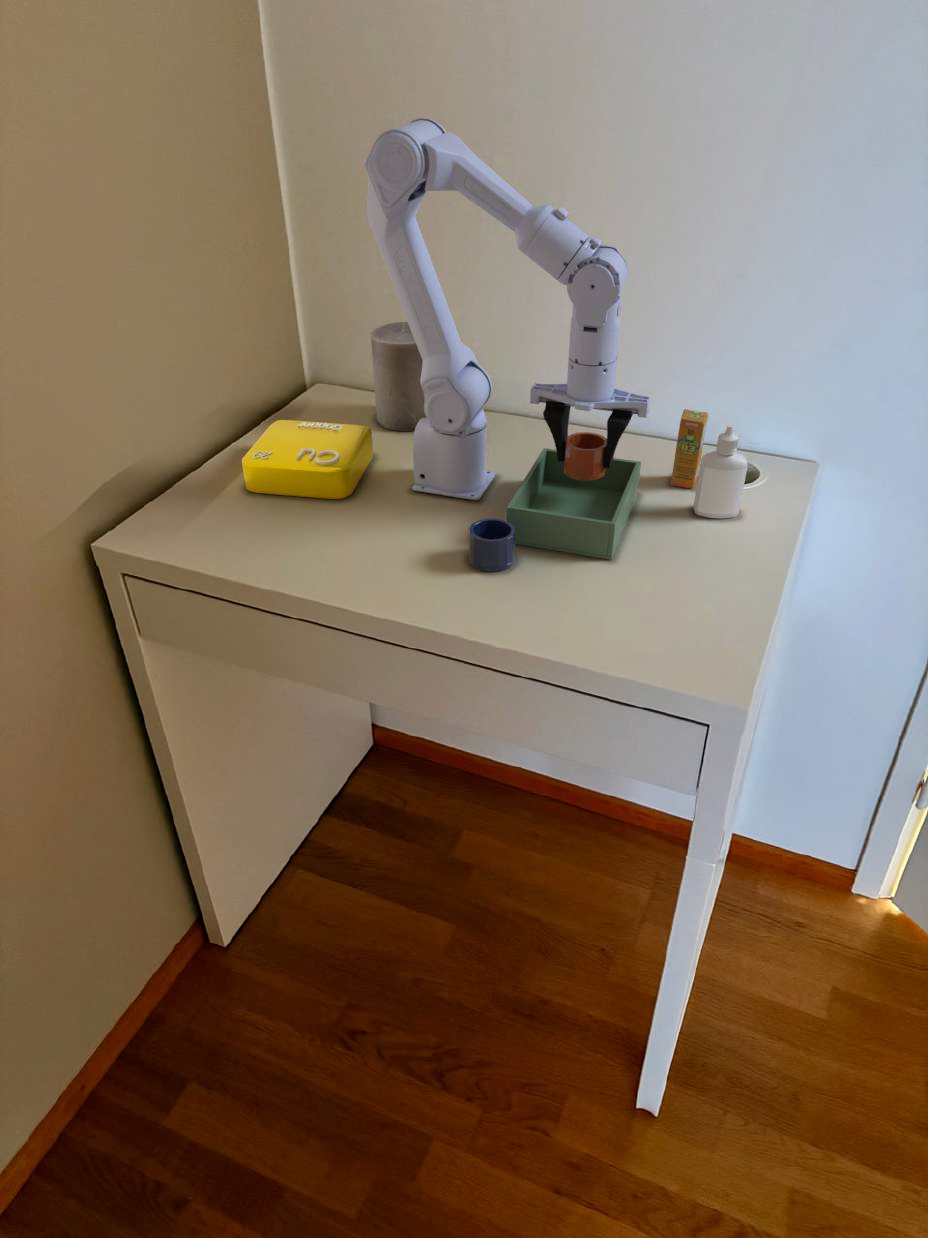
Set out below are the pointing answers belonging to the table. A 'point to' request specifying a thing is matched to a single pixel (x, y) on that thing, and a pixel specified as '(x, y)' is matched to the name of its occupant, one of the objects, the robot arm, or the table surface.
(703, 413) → the supplement box
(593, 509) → the sage tub
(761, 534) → the table surface
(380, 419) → the pillar candle
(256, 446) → the element tile
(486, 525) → the navy cup
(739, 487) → the eye dropper bottle
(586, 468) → the terracotta cup
